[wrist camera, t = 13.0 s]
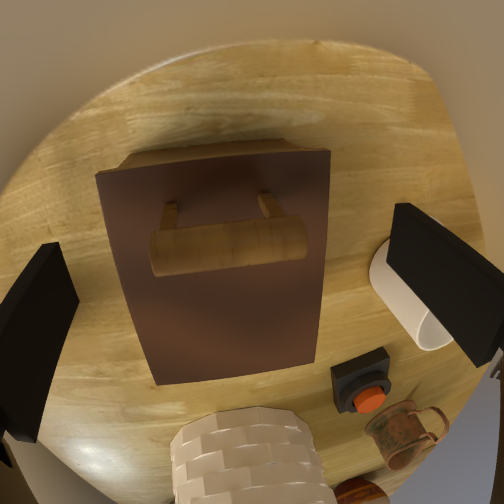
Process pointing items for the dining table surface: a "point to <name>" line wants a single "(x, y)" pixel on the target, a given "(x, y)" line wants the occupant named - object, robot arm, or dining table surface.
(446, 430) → the mug
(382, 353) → the button base
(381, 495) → the jug
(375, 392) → the button
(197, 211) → the lid
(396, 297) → the mug
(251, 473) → the basket
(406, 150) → the dining table surface
